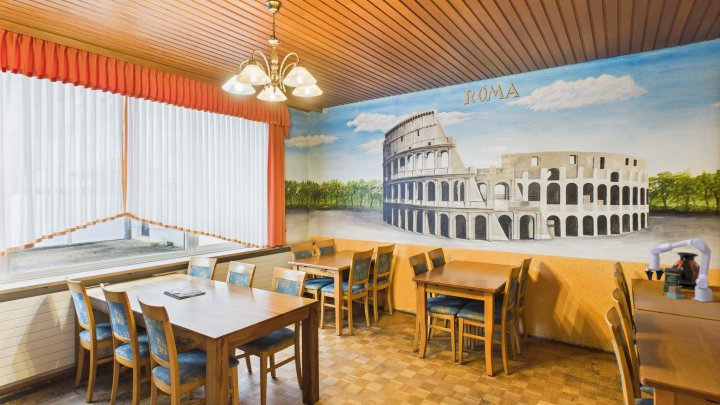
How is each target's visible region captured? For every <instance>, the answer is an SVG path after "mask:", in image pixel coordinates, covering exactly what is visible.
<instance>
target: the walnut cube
mask: <svg viewBox="0 0 720 405" xmlns="http://www.w3.org/2000/svg"><path fill="white" fill-rule="evenodd" d="M669 293H672V294H682V288H681V287H678V286H669Z"/></svg>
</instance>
